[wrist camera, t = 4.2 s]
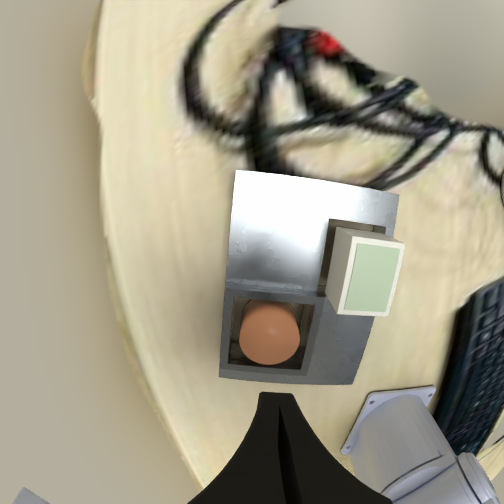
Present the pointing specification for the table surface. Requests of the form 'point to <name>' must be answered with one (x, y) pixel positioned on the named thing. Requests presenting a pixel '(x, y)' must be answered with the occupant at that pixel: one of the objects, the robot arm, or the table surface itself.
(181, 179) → the table surface
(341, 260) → the on key
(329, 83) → the table surface
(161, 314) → the table surface
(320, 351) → the panel
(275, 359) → the button
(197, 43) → the table surface
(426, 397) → the robot arm
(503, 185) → the energy drink
